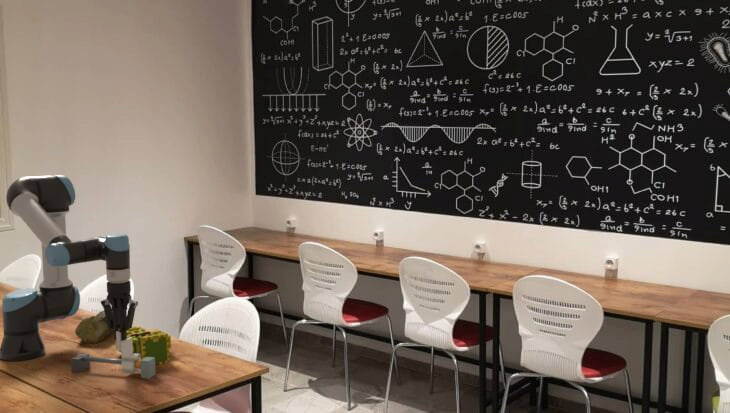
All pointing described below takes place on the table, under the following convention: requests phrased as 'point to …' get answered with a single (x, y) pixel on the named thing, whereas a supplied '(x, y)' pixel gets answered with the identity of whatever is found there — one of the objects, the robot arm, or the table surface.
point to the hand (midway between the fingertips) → (120, 349)
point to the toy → (150, 344)
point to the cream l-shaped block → (129, 356)
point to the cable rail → (84, 360)
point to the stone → (93, 328)
